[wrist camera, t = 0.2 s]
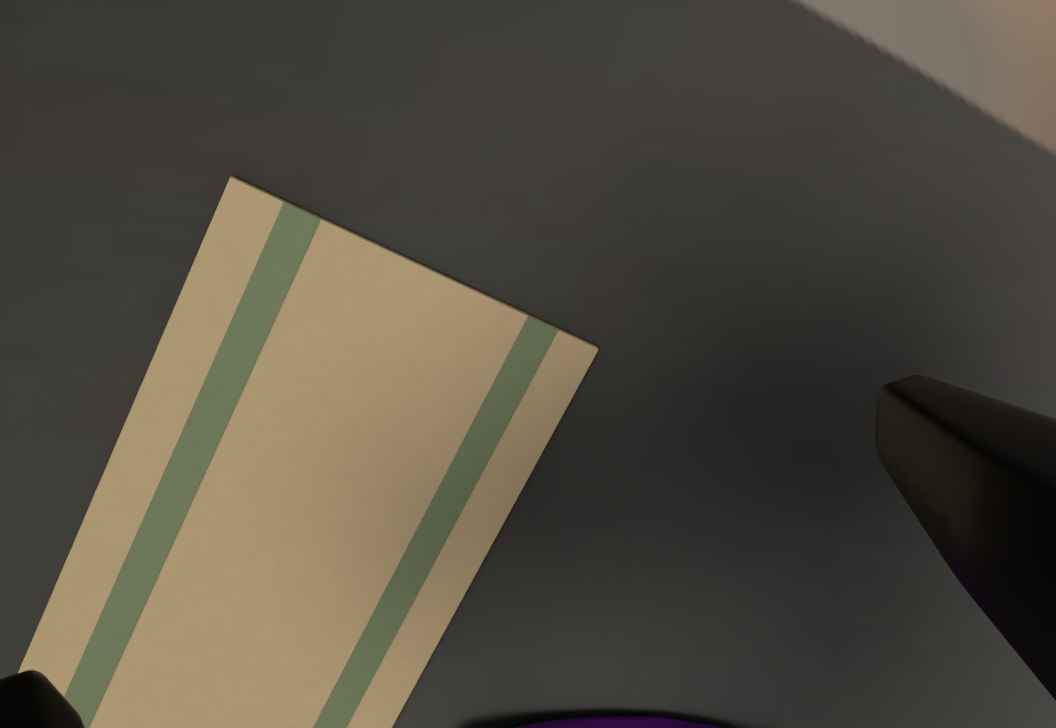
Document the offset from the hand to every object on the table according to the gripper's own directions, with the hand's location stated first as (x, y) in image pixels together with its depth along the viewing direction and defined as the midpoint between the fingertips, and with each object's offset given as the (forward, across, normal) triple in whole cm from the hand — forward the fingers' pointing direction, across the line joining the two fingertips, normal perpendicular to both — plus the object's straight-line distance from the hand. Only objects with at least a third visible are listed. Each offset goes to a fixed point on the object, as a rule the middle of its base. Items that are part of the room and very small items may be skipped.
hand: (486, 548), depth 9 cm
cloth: (+13, +6, +11) cm, 18 cm away
